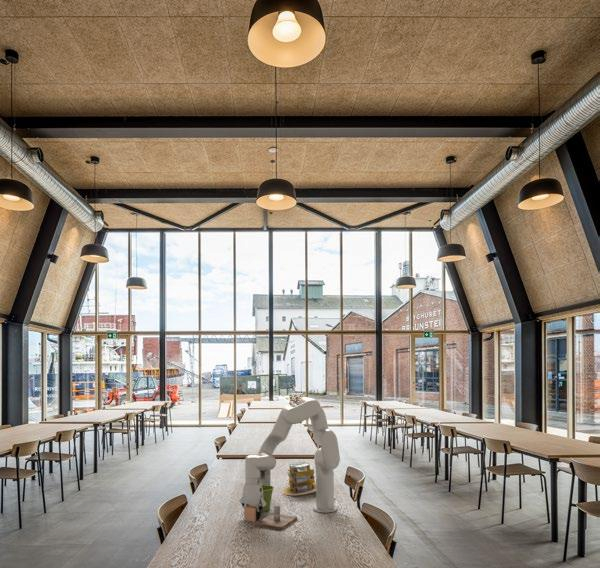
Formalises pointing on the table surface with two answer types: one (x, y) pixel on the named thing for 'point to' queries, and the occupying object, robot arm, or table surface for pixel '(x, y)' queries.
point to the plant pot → (267, 496)
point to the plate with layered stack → (300, 479)
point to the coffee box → (265, 477)
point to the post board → (276, 520)
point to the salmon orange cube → (250, 513)
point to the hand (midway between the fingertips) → (252, 517)
